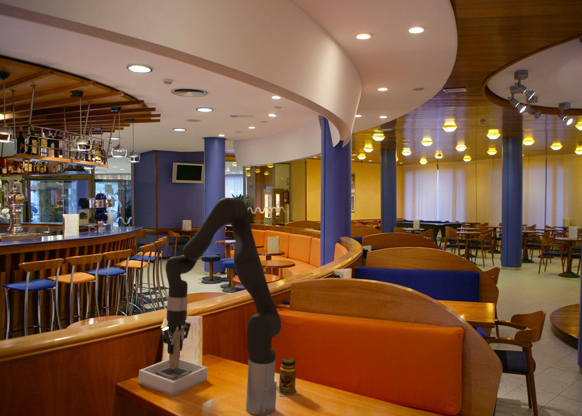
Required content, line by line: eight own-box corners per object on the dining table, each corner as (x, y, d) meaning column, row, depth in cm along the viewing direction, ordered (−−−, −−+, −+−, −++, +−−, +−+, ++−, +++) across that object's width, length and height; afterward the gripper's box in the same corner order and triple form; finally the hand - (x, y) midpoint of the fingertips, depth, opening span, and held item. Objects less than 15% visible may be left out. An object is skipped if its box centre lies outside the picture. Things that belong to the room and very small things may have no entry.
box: (206, 379, 169) (207, 367, 169) (172, 396, 153) (173, 382, 153) (173, 368, 178) (174, 356, 178) (138, 383, 163) (139, 370, 162)
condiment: (280, 396, 158) (282, 364, 158) (274, 387, 166) (276, 356, 166) (299, 395, 160) (300, 363, 160) (292, 385, 168) (294, 355, 168)
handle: (180, 370, 163) (182, 331, 163) (163, 369, 163) (165, 330, 163) (183, 366, 168) (185, 327, 168) (167, 365, 168) (169, 326, 168)
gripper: (170, 313, 157) (167, 359, 158) (197, 306, 169) (195, 349, 170) (155, 309, 161) (153, 355, 161) (183, 302, 173) (181, 345, 174)
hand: (174, 351), depth 166 cm, fingers closed on handle, 4 cm apart
